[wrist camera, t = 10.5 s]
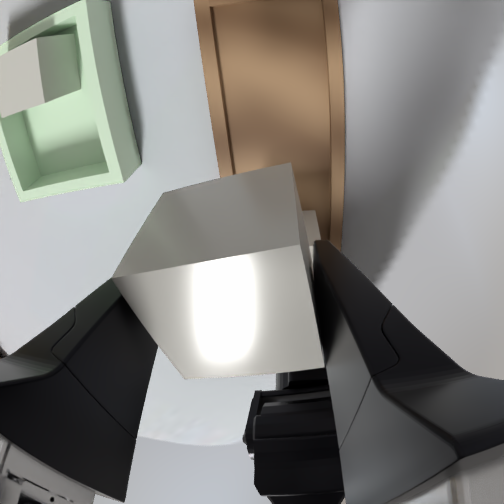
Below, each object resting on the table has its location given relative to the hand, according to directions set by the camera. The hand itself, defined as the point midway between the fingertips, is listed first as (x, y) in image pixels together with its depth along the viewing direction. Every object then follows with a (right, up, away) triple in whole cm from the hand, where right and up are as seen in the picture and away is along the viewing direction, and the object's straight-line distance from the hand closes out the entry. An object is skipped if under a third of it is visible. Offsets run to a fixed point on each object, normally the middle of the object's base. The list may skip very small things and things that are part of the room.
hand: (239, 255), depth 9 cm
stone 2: (-13, +12, +6) cm, 19 cm away
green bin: (-12, +10, +8) cm, 18 cm away
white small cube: (0, +1, +1) cm, 1 cm away
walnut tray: (+2, +7, +9) cm, 12 cm away
